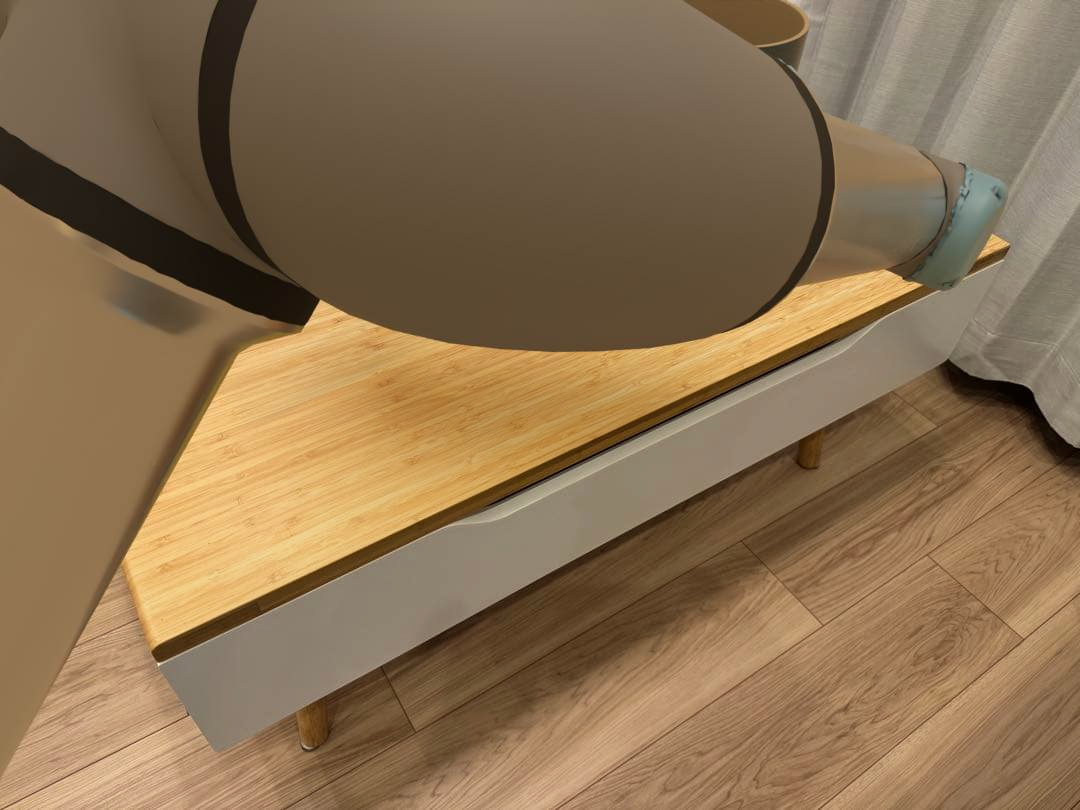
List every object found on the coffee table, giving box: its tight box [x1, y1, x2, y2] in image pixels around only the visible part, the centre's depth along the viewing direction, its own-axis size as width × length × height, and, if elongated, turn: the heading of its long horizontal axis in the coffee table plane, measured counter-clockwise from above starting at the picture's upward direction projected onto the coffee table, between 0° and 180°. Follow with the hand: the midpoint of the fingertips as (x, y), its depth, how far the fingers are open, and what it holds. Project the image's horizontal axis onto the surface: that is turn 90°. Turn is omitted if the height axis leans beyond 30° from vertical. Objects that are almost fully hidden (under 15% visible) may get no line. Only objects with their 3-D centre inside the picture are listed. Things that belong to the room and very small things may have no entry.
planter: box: [682, 0, 811, 73], centre depth 105 cm, size 22×22×20 cm
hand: (320, 224), depth 66 cm, fingers closed on cup, 8 cm apart
